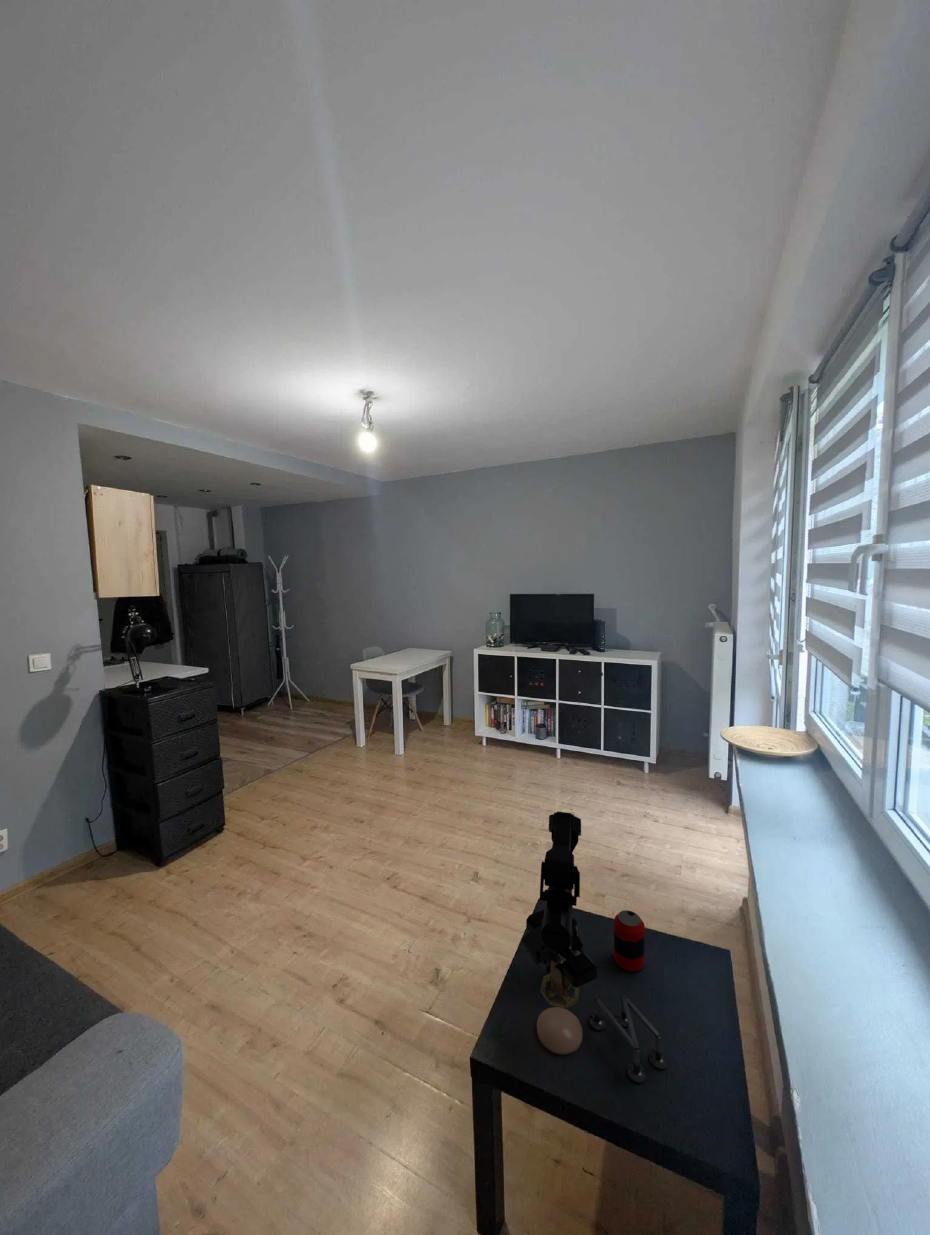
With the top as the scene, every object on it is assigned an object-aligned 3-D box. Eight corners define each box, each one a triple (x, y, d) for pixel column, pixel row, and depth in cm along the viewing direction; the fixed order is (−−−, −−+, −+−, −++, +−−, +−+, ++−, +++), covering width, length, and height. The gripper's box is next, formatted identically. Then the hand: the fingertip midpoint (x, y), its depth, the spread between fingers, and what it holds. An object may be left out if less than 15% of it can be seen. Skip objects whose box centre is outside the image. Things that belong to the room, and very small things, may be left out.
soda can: (646, 955, 124) (646, 913, 123) (641, 977, 118) (642, 933, 117) (616, 945, 128) (617, 904, 127) (611, 965, 121) (611, 922, 120)
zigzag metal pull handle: (585, 1019, 107) (585, 995, 106) (618, 1002, 111) (618, 980, 110) (636, 1086, 93) (636, 1059, 92) (671, 1064, 97) (671, 1038, 96)
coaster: (528, 1021, 107) (528, 1017, 106) (564, 1004, 111) (564, 1000, 111) (553, 1062, 97) (553, 1058, 97) (591, 1042, 102) (591, 1038, 101)
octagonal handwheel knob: (534, 983, 105) (534, 954, 105) (563, 970, 108) (563, 942, 108) (555, 1013, 98) (555, 982, 97) (586, 998, 101) (586, 968, 101)
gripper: (506, 899, 107) (507, 962, 108) (553, 959, 90) (554, 1033, 91) (546, 884, 111) (547, 945, 113) (599, 939, 94) (599, 1010, 96)
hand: (559, 980), depth 103 cm, fingers closed on octagonal handwheel knob, 4 cm apart
